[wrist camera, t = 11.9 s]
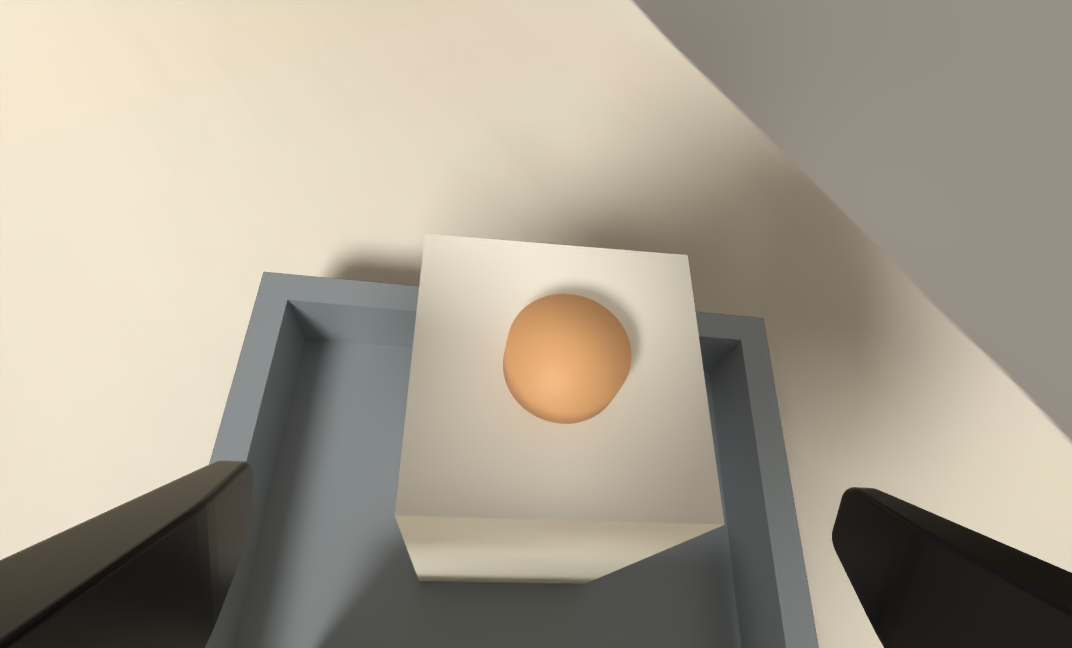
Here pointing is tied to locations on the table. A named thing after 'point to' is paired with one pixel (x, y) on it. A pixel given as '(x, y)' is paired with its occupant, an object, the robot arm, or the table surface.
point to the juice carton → (552, 413)
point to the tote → (371, 489)
